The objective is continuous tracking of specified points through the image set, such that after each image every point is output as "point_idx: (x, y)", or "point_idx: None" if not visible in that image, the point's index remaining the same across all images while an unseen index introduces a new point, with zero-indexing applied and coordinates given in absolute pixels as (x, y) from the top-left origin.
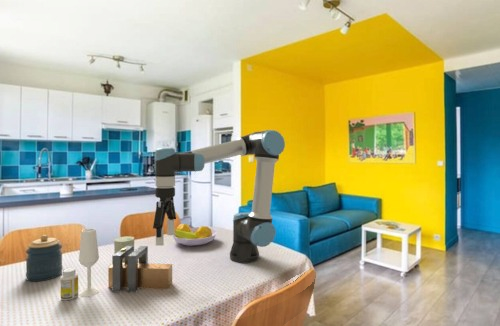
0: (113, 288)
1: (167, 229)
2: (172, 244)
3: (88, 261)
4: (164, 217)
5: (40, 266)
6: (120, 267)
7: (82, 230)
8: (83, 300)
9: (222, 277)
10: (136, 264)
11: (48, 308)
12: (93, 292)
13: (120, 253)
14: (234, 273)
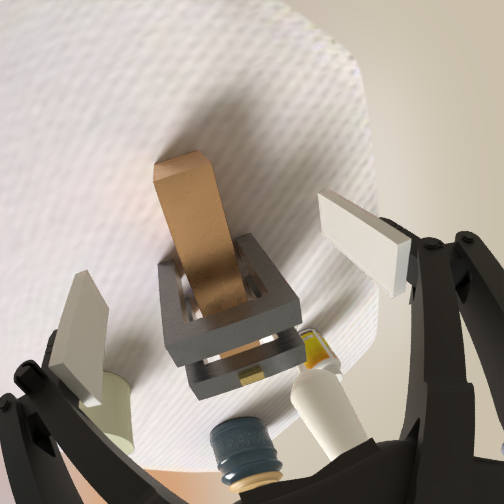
0: None
1: (104, 337)
2: None
3: (334, 375)
4: (430, 322)
5: (268, 440)
6: None
7: None
8: (312, 308)
9: (54, 25)
10: (274, 280)
11: (344, 329)
12: None
13: (283, 359)
14: (16, 12)
